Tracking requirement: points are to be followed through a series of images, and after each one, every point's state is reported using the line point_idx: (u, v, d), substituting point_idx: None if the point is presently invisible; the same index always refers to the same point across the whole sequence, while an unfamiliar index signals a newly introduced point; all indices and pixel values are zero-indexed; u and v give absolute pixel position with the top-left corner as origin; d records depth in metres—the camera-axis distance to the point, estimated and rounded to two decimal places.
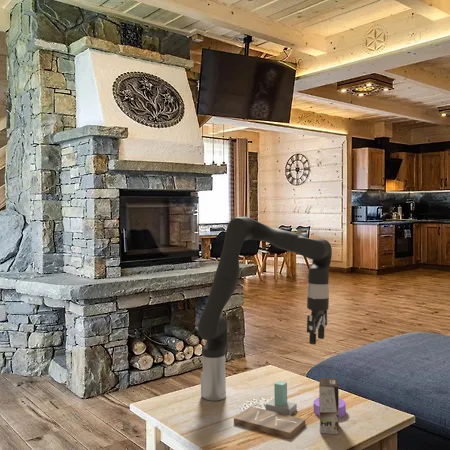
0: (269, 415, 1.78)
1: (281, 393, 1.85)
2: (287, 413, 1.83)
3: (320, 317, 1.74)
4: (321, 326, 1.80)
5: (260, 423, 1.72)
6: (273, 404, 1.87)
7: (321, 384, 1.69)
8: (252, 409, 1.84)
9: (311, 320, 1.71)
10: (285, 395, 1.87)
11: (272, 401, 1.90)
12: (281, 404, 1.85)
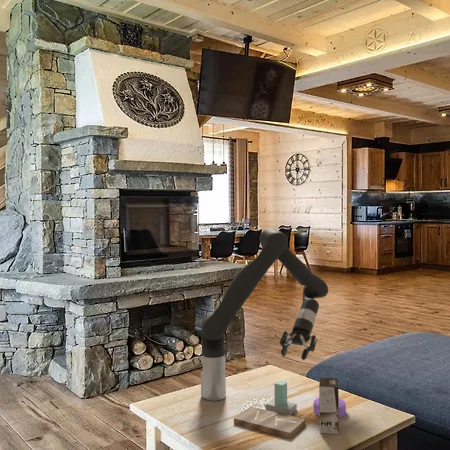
0: (269, 415, 1.78)
1: (281, 393, 1.85)
2: (287, 413, 1.83)
3: None
4: (286, 346, 2.00)
5: (260, 423, 1.72)
6: (273, 404, 1.87)
7: (321, 384, 1.69)
8: (252, 409, 1.84)
9: (315, 340, 1.97)
10: (285, 395, 1.87)
11: (272, 401, 1.90)
12: (281, 404, 1.85)
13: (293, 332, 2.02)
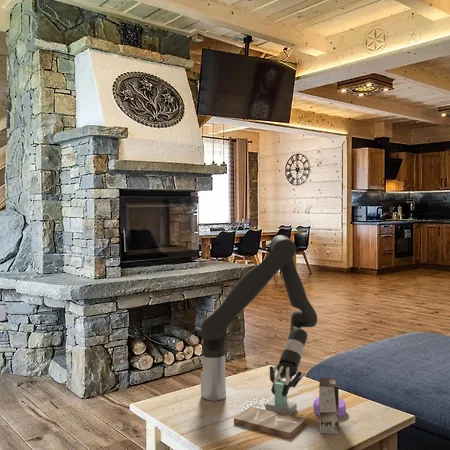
0: (269, 415, 1.78)
1: (281, 393, 1.85)
2: (287, 413, 1.83)
3: None
4: None
5: (260, 423, 1.72)
6: (273, 404, 1.87)
7: (321, 384, 1.69)
8: (252, 409, 1.84)
9: (300, 377, 1.87)
10: None
11: (272, 401, 1.90)
12: (281, 404, 1.85)
13: (279, 364, 1.93)
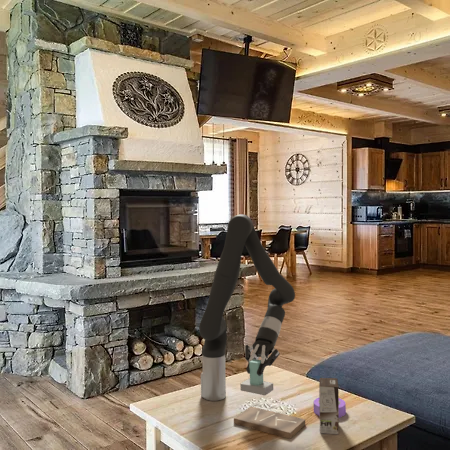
0: (269, 415, 1.78)
1: None
2: (262, 392, 1.73)
3: None
4: None
5: (260, 423, 1.72)
6: (248, 383, 1.77)
7: (321, 384, 1.69)
8: (252, 409, 1.84)
9: (276, 355, 1.77)
10: (261, 374, 1.77)
11: (248, 381, 1.80)
12: (256, 383, 1.76)
13: (255, 342, 1.83)
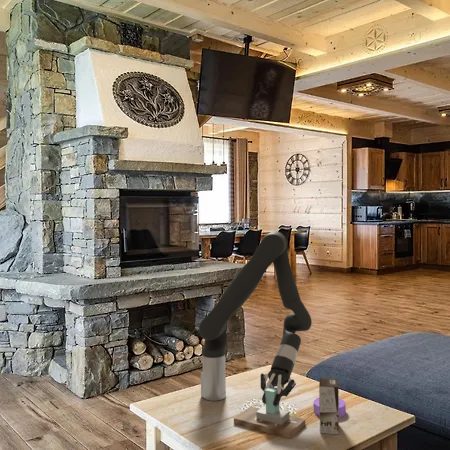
0: None
1: (273, 400, 1.73)
2: (279, 422, 1.71)
3: None
4: None
5: (260, 423, 1.72)
6: (264, 412, 1.75)
7: (321, 384, 1.69)
8: (252, 409, 1.84)
9: (293, 386, 1.74)
10: None
11: (263, 408, 1.78)
12: (273, 412, 1.73)
13: (271, 371, 1.80)
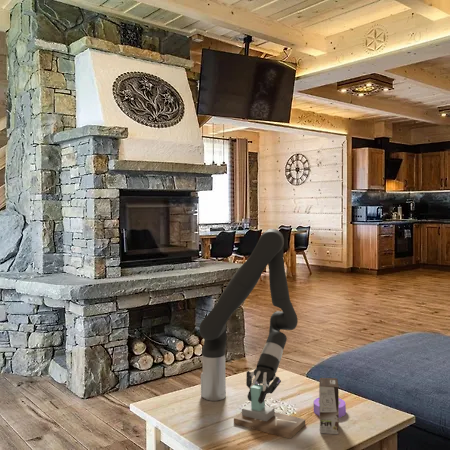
0: None
1: (258, 397, 1.76)
2: (264, 418, 1.74)
3: None
4: None
5: (260, 423, 1.72)
6: (250, 409, 1.78)
7: (321, 384, 1.69)
8: None
9: (277, 383, 1.78)
10: None
11: (249, 405, 1.81)
12: (258, 409, 1.76)
13: (256, 369, 1.83)
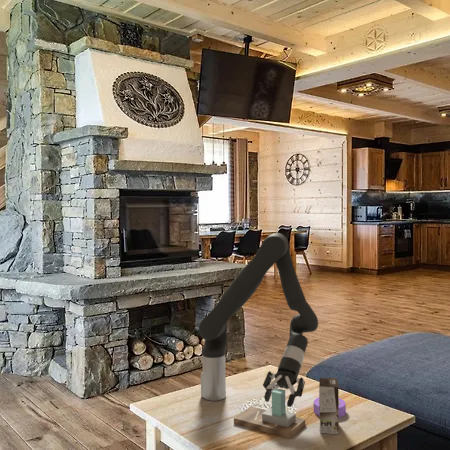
0: None
1: (279, 402, 1.71)
2: (285, 424, 1.69)
3: None
4: (270, 389, 1.77)
5: (260, 423, 1.72)
6: (270, 414, 1.73)
7: (321, 384, 1.69)
8: (252, 409, 1.84)
9: (303, 384, 1.73)
10: (283, 404, 1.73)
11: (269, 410, 1.76)
12: (279, 414, 1.72)
13: (278, 373, 1.78)
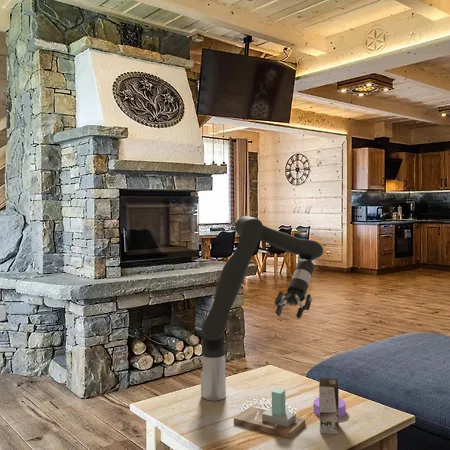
0: None
1: (279, 402, 1.71)
2: (285, 424, 1.69)
3: None
4: (281, 306, 1.99)
5: (260, 423, 1.72)
6: (270, 414, 1.73)
7: (321, 384, 1.69)
8: (252, 409, 1.84)
9: (310, 299, 1.95)
10: (283, 404, 1.73)
11: (269, 410, 1.76)
12: (279, 414, 1.72)
13: (288, 292, 2.01)
